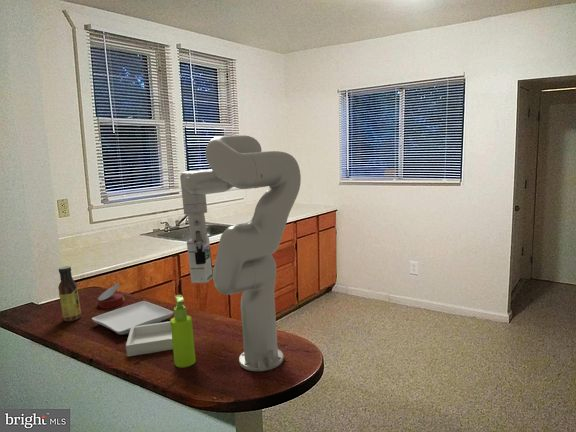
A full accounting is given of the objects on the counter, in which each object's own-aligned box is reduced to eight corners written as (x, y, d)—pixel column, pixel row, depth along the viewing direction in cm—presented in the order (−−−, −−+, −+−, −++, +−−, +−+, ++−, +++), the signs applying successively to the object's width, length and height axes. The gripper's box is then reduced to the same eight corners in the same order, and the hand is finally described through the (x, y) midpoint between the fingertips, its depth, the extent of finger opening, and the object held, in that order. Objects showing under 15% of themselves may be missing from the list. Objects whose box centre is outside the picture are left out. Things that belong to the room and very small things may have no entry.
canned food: (118, 317, 169) (110, 300, 163) (96, 313, 172) (87, 297, 166) (132, 296, 178) (125, 279, 172) (111, 293, 180) (104, 276, 174)
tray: (175, 348, 129) (174, 338, 129) (127, 356, 126) (125, 345, 126) (175, 330, 143) (174, 320, 142) (132, 336, 140) (131, 326, 139)
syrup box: (207, 283, 139) (203, 240, 136) (190, 283, 140) (186, 240, 138) (213, 277, 144) (209, 236, 142) (197, 277, 145) (193, 236, 143)
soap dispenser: (177, 371, 116) (169, 302, 113) (173, 360, 123) (166, 294, 119) (198, 365, 119) (191, 298, 115) (193, 355, 125) (187, 290, 122)
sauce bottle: (82, 319, 157) (75, 267, 154) (64, 323, 154) (56, 271, 150) (80, 314, 162) (73, 264, 159) (62, 318, 159) (54, 267, 156)
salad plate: (144, 307, 167) (143, 299, 166) (175, 319, 153) (174, 311, 152) (91, 326, 151) (89, 317, 151) (120, 342, 137) (118, 332, 137)
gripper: (208, 210, 131) (213, 266, 134) (205, 204, 148) (210, 254, 150) (183, 213, 129) (189, 269, 132) (183, 206, 146) (188, 256, 149)
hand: (200, 260), depth 141 cm, fingers closed on syrup box, 7 cm apart
